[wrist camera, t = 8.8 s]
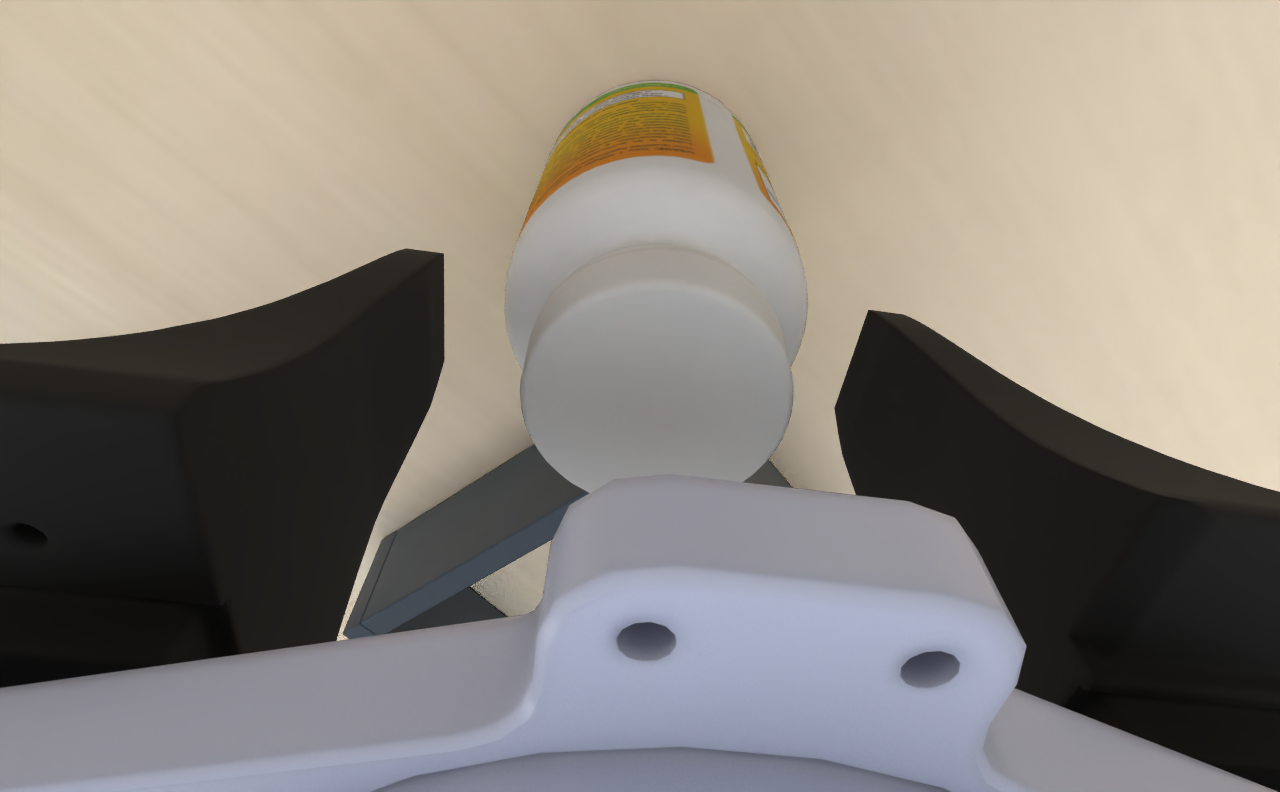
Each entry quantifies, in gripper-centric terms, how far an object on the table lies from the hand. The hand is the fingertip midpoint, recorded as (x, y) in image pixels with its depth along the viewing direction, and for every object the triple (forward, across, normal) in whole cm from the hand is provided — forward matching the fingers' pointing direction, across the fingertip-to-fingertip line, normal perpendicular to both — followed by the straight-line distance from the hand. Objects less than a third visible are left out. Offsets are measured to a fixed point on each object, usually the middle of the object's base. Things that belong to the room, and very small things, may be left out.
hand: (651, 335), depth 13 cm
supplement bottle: (+8, 0, 0) cm, 8 cm away
